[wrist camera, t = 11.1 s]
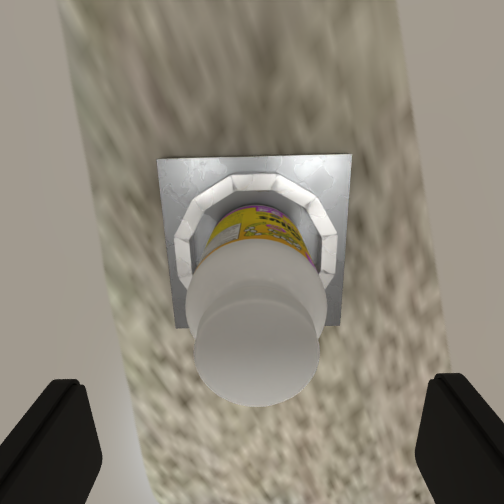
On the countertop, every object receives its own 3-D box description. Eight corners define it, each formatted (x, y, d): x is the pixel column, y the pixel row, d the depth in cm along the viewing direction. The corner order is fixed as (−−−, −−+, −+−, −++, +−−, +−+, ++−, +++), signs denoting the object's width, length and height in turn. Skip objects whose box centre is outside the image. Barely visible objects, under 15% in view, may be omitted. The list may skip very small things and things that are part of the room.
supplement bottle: (319, 254, 25) (383, 371, 12) (248, 304, 26) (244, 454, 14) (263, 181, 23) (273, 236, 11) (190, 239, 24) (128, 346, 12)
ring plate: (160, 158, 23) (149, 160, 21) (348, 153, 23) (358, 155, 21) (178, 321, 28) (171, 339, 25) (337, 318, 27) (344, 336, 25)
